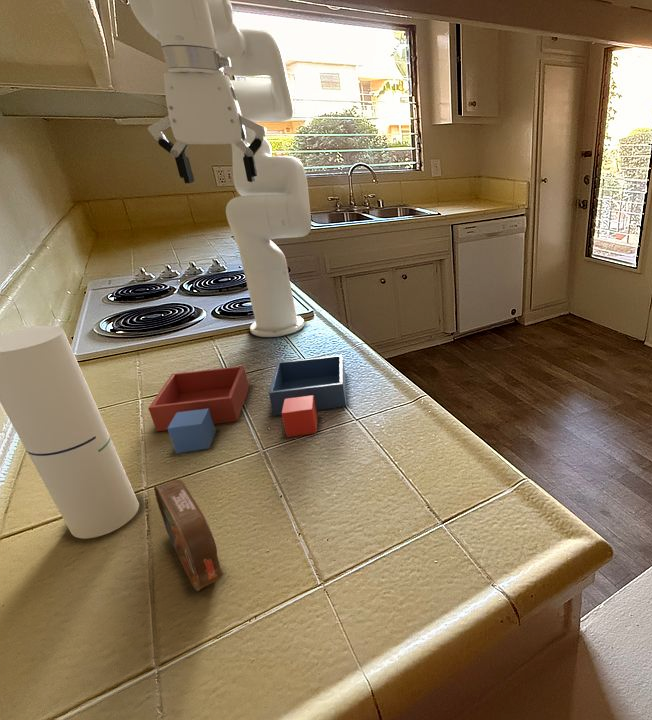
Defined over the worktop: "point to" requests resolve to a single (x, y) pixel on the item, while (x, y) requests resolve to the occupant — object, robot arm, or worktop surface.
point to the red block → (299, 416)
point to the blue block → (191, 430)
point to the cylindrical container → (63, 430)
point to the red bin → (201, 395)
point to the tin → (189, 533)
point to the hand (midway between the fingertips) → (221, 181)
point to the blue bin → (309, 382)
